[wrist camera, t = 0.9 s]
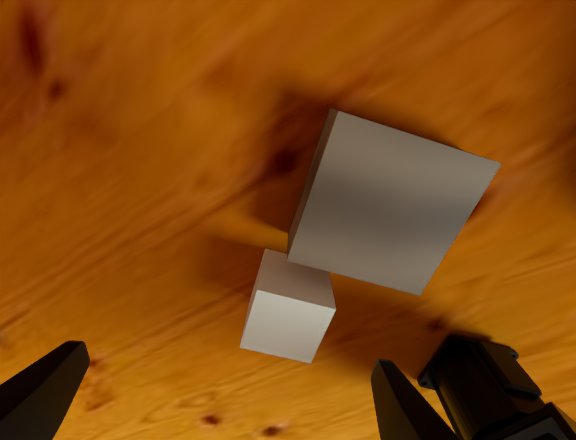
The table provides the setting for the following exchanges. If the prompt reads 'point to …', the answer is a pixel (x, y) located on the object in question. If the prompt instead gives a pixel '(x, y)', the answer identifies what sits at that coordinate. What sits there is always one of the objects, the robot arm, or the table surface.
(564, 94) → the table surface
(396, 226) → the grey block
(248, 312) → the cream cube
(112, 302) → the table surface
